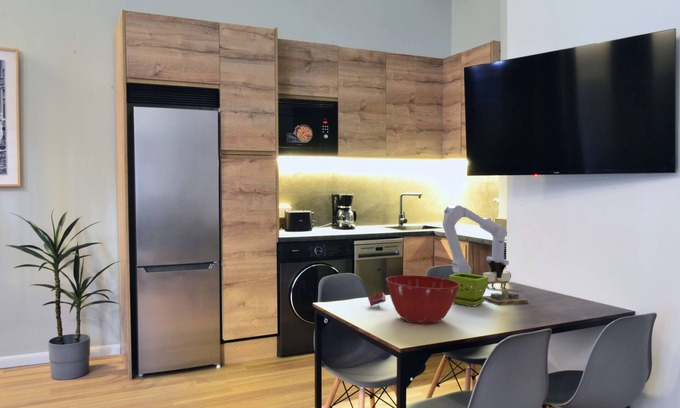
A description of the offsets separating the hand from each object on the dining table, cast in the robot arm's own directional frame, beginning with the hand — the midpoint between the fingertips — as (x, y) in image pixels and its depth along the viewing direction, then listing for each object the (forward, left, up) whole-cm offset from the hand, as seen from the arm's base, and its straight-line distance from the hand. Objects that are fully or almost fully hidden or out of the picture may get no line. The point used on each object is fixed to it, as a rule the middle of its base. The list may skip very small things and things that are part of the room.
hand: (496, 277), depth 273 cm
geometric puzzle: (-71, -10, -9) cm, 72 cm away
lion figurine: (+13, +14, -9) cm, 21 cm away
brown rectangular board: (-6, -14, -9) cm, 18 cm away
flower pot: (-27, -14, -9) cm, 32 cm away
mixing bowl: (-64, -35, -9) cm, 73 cm away
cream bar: (0, 0, -2) cm, 2 cm away
